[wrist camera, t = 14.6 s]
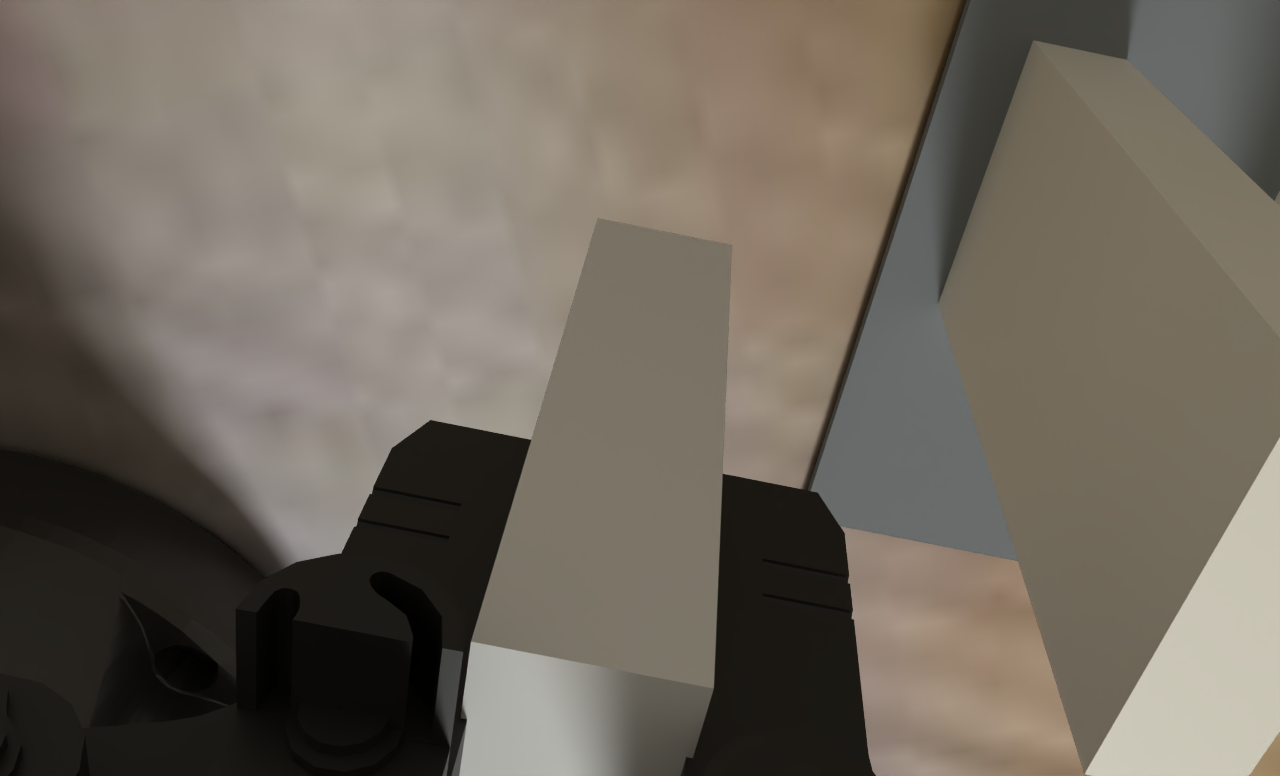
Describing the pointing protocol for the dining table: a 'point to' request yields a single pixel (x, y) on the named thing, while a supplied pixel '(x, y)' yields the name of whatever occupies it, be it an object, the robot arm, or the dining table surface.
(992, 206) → the domino
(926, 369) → the domino mat
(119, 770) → the robot arm
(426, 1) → the dining table surface
